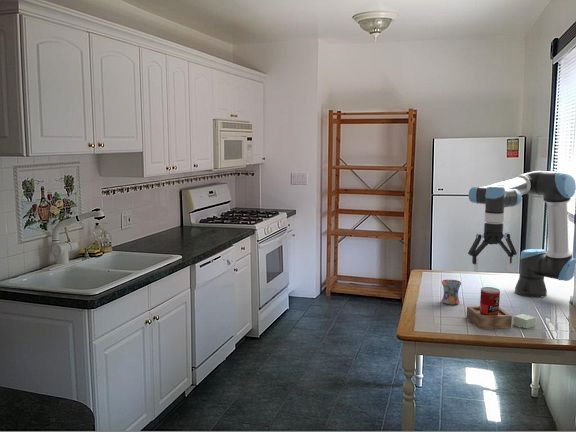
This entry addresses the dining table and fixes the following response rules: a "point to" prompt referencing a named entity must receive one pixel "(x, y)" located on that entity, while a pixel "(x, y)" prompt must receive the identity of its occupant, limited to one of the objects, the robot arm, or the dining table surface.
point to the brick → (524, 321)
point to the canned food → (489, 301)
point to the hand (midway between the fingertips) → (491, 271)
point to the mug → (450, 291)
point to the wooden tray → (489, 318)
